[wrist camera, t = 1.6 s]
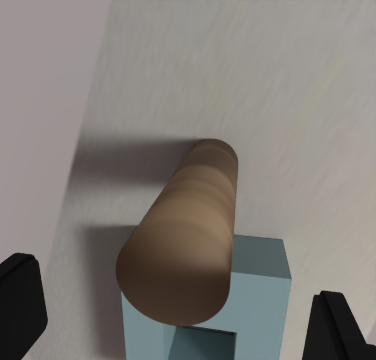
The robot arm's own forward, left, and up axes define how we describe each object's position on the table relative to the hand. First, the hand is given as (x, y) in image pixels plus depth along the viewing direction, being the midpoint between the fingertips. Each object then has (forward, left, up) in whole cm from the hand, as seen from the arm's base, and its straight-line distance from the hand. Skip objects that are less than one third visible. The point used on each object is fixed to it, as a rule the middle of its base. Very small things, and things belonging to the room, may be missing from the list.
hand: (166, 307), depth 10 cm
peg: (-1, 0, -15) cm, 15 cm away
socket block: (+13, 0, -15) cm, 20 cm away
